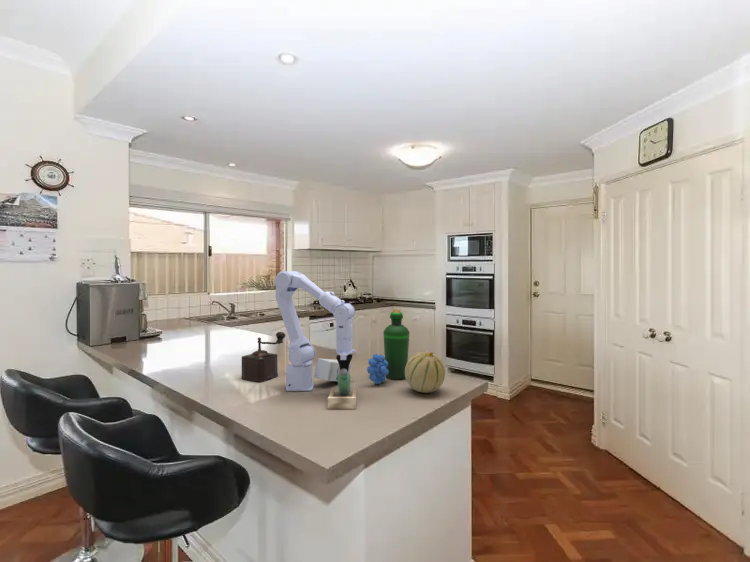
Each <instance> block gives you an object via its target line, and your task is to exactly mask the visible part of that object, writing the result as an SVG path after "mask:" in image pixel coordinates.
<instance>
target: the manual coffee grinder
mask: <svg viewBox="0 0 750 562" xmlns="http://www.w3.org/2000/svg"><path fill="white" fill-rule="evenodd" d="M275 336H276V341H274V342H273V341H271V342H270V341H262V338H261V337H257V343H258V348H257V350H256V351H255V350H254V351H253V352H252V353H250V354H247V355H242V356H241V380H243V381H248V382H256V383H260V384H261V383H264V382H267V381H271V380H272V379H275V378H276V377H278V376H279V374H278V373H279V372H278V368H279V367H278V354H277V353H271V352H268V351H267V350H264V349H263V350H262V345H277V344H278V345H281V344H283V343H284V339H285V338H286V333H285V332H282V331H278V332H276V334H275ZM261 344H262V345H261Z"/></svg>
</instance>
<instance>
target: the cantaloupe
mask: <svg viewBox="0 0 750 562" xmlns="http://www.w3.org/2000/svg"><path fill="white" fill-rule="evenodd" d="M445 378H446V368H445V364H444V362H443V361H442V359H441V357H439V356H438V355H437V354H435V353H434V351H427V350H425V351H424V350H423V351H418V352H415V353H414V354H412V355H411V356H410V357H409V358H408V362H407V364H406V367H405V378H404V379H405V380H406V382H407V384H408V386H409V387H411V388H412V389H413V390H414V391H416V392H418V393H422V394H428V393H430V394H431V393H433V392H435V391H437V390H438V389H440V387H442V385H443V383H444V381H445Z"/></svg>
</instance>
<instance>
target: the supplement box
mask: <svg viewBox="0 0 750 562" xmlns="http://www.w3.org/2000/svg"><path fill="white" fill-rule="evenodd" d="M351 368H352V363H351V362H350V364H349V370H348V373H349V374H350V372H351ZM339 373H340V366H339V363H338V361H337V359H332V358H331V359H330V358H329V359H328V358H320V357H318V358H317V361H316V365H315V371H314V375H313V377H314V378H316V379H320V380H323V381H327V382H338V375H339ZM350 375H351V374H350Z"/></svg>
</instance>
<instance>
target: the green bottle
mask: <svg viewBox="0 0 750 562" xmlns="http://www.w3.org/2000/svg"><path fill="white" fill-rule="evenodd" d="M351 379H352V378H351V374H349V373H348V370H347V369H345V368H343V369H341V370H340V373H339V375H338V381H337V389H338V390H337V391H338V393H339V394H340V395H342V396H343V395H344V396H347V395H348V394H350V393H351V388H352V387H351V385H352V384H351V383H352V382H351Z"/></svg>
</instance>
